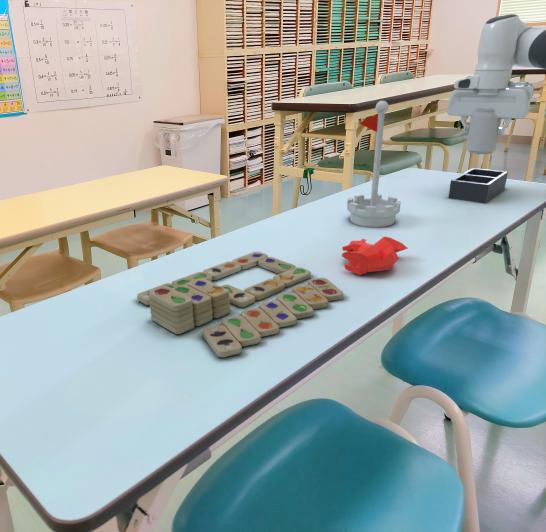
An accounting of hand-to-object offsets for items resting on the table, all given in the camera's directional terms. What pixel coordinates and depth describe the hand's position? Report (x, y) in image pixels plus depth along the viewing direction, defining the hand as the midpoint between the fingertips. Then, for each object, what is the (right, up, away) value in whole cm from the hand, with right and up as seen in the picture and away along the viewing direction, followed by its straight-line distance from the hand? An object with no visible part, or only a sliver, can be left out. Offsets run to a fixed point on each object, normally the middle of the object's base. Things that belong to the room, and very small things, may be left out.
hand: (482, 133), depth 146 cm
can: (0, -5, +2) cm, 5 cm away
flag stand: (-34, -25, -10) cm, 44 cm away
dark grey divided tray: (+4, -15, +10) cm, 19 cm away
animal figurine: (-43, -37, -36) cm, 67 cm away
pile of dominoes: (-72, -43, -49) cm, 97 cm away
